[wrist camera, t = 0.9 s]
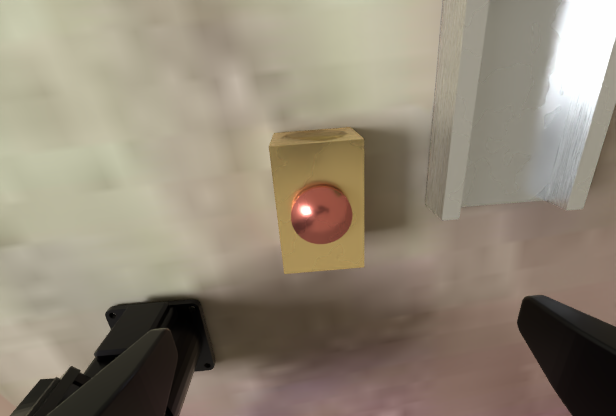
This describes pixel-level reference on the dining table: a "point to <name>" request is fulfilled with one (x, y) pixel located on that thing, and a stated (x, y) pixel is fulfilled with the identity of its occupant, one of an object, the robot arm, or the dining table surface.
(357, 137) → the button box
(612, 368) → the robot arm
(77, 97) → the dining table surface
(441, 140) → the metal bracket
